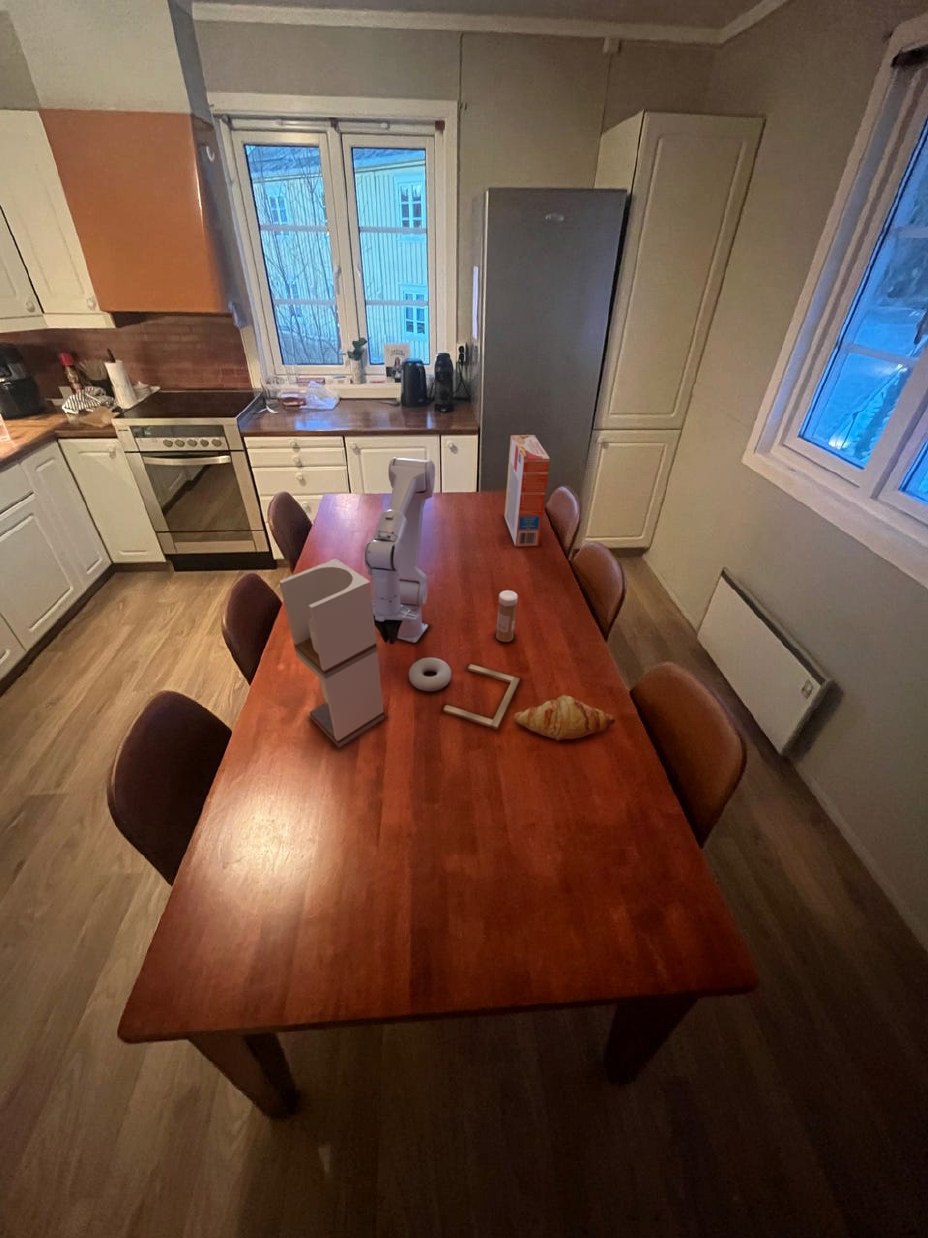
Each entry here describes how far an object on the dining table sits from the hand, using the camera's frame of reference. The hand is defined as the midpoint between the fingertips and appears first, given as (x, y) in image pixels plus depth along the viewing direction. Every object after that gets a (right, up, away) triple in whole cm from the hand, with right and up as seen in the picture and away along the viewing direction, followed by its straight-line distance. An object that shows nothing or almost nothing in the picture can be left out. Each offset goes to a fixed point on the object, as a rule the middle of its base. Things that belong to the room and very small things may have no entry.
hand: (390, 640), depth 116 cm
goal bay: (+21, -12, -2) cm, 24 cm away
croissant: (+38, -18, -8) cm, 43 cm away
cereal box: (+37, +36, +64) cm, 82 cm away
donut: (+9, -9, +2) cm, 13 cm away
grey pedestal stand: (-8, -17, -8) cm, 20 cm away
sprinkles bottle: (+28, 0, +15) cm, 32 cm away
